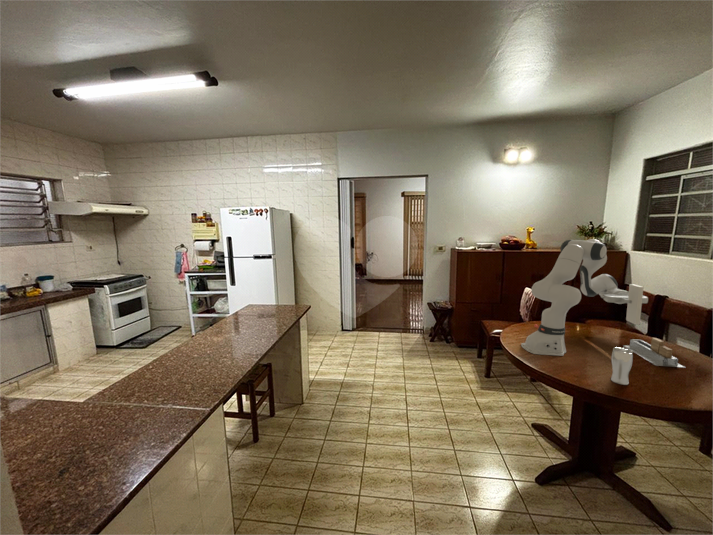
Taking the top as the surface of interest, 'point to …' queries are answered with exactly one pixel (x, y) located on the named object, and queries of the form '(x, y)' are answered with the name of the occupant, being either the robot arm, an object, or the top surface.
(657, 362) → the slot rack
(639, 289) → the tall panel
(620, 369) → the beer glass
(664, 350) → the short offcut
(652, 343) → the tall offcut
